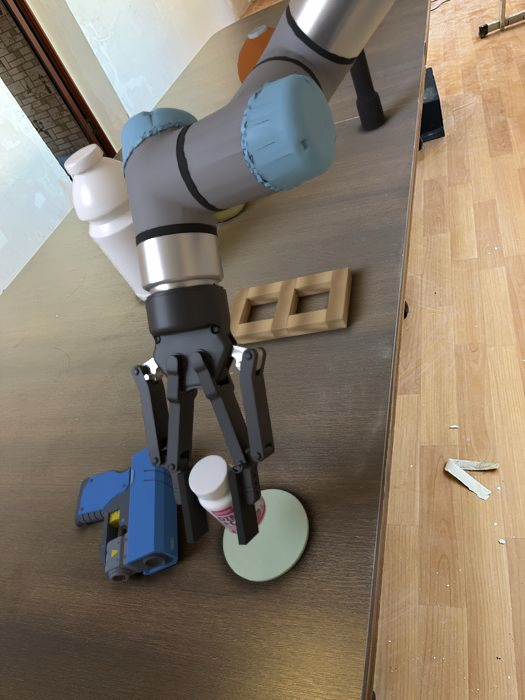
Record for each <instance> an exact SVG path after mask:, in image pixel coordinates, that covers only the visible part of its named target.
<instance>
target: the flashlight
mask: <svg viewBox="0 0 525 700" xmlns="http://www.w3.org/2000/svg"><path fill="white" fill-rule="evenodd" d="M349 73H350V77H351V80H352V85H353V88H354V90H355V94H356V101H355V105H356V106H355V107H356V110H357V114H358V117H359V120H360V121H359V122H360V123H361V128H362V130H364V131H372V130H375V129H378V128H380V127H381V126H382V125H384V124H385V121H386V117H385V113H384V108H383V105H382V102H381V101H382V100H381V98H380V95H379V92H377V91H376V90H375V87H374V83H373V80H372V75H371V71H370V67H369V64H368V60H367V56H366V51H365V47H364V48H363V49H362V51H361V52H360V54H359V55H358V57H357V59H356V61H355V62H354V64H353V66H352V67H351V69H350V70H349Z"/></svg>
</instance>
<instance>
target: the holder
mask: <svg viewBox="0 0 525 700" xmlns="http://www.w3.org/2000/svg"><path fill="white" fill-rule="evenodd" d="M352 282H353V275H352V272H351V270H350V267H349V266H346V267H342V268H337V269H333V270H328V271H323V272H318V273H313V274H309V275H303V276H298V277H294V278H290V279H285V280H280V281H275V282H271V283H266V284H265V283H264V284H262V285H255V286H252V287H246V288H243V289H238V290H236V292H235V295H234V298H233V301H232V304H231V307H230V309H229V312H230V318H231V323H230V330H231V333H232V335H233V336H234V338H235V339H236V341H237V343H238V345H246V344H250V343H258V342H264V341H271V340H276V339H282V338H290V337H295V336H301V335H309V334H314V333H322V332H328V331H334V330H340V329H346V328H347V327H348V319H349V311H350V310H349V309H350V299H351V291H352ZM327 292H329V295H328V301H327V307H326V308H323V309H318V310H313V311H307V312H301V313H297V309H298V303H299V299H300V298H302V297H309V296H312V295H317V294H318V295H319V294H323V293H327ZM272 303H276V307H275V312H274V314H273V315H274V316H273V317H272V318H266V319H261V320H260V319H259V320H255V321H249V322H248V320H249V316H250V313H251V309H252V307H255V306H260V305H265V304H272Z"/></svg>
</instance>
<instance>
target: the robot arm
mask: <svg viewBox="0 0 525 700" xmlns="http://www.w3.org/2000/svg"><path fill="white" fill-rule="evenodd" d="M396 1H397V0H289V2H288V4H287V6H286V8H285V10H284V11H283V12H282V15H281V16H280V19H279V20H278V23H277V25H276V26H275V28H276V29H275V31H274V33H273V35H272V37H271V39H270V41H269V43H268V45H267V47H266V49H265V50H264V52H263V54H262V56H261V57H260V59H259V60H258V62H257V64H256V65H255V67H254V68H253V69H252V71H251V72H250V73H249V75H248V76H247V78H246V79H245V81H244V82H243V83H241V85H240V86H239V88H238V89H237V91H236V92H235V93H234V95H233V97H232V98H231V99H230V101H229V102H228V103H227V104H226V105H224V106H222V107H221V108H219V109H218V110H216V111H214V112H212V113H210V114H208V115H206V116H205V117H202V118H200V119H199V120H198V119H197V118H196V116H194V115H193V114H192V113H190V112H189V111H186V110H184V109H180V108H176V107H156V108H155V109H154V110H151V111H147V110H145V111H140V112H138V113H136V114H135V115H134V114H133V116H131V117H130V118H129V119H128V120H127V121H126V122H125V123H124V125H123V127H122V129H121V133H120V143H121V144H120V145H121V154H122V162H123V167H122V168H123V170H122V171H123V175H124V179H125V181H126V186H127V191H128V197H129V203H130V209H131V215H132V221H133V227H134V233H135V238H136V246H137V255H138V262H139V269H140V276H141V283H142V288H143V289H144V290H145V291H148V292H150V294H151V295H149V296H148V297H147V299H146V300H145V301H144V305H145V312H146V317H147V318H146V319H147V324H148V331H149V333H150V335H151V336H152V338H153V340H154V350H153V353H152V358H150V359H149V360H147V361H146V362H144V363H142V364H137V365H133V366H132V367H131V369H130V373H131V376H132V379H133V381H134V382H135V385H136V386H137V388H138V389H137V390H138V391H139V398H140V404H141V411H142V418H143V424H144V429H145V431H144V432H145V436H146V442H147V448H148V450H149V456H150V462H151V464H152V465H153V466H155V467H157V466H162V467H164V468H167V469H168V471H169V472H170V473H171V478H172V484H173V489H174V497H175V501H176V503H177V506H180V505H181V509H182V516H183V522H184V529H185V534H186V542H187V544H195V543H196V542H197V541H199V540H200V539H201V538H203V537H204V536H205V535H206V534H208V532H210V527H209V520H208V512H207V510H206V509H205V508H204V507H203V506H202V505H201V504H200V502H199V500H198V496H197V495H196V494H195V493H194V492H193V491H192V489H191V488H190V485H189V476H190V473H191V471H192V469H193V467H194V466H195V465H191V464H193V463H195V461H196V458H193V456H192V455H193V453H192V451H193V435H194V434H193V433H194V414H195V399H196V398H197V396H198V392H199V390H202V391H203V394H204V396H205V398H206V399H207V400H209V401H210V403H211V406H212V408H213V412H214V415H215V417H216V420H217V422H218V425H219V428H220V430H221V433H222V436H223V439H224V441H225V444H226V446H227V449H228V451H229V454H230V457H231V459H232V463H233V465H234V467H232V468H231V471H229V472H228V478H229V484H230V491H231V497H232V504H233V510H234V517H235V523H236V530H237V536H238V542H239V545H247V544H248V543H249V542H250V541H251V540H252V539H253V538H254V537H255V536H256V535H257V534H258V533H259V528H258V521H257V515H256V508H255V503H256V502H257V501H258V500H259V499H260V497H261V491H262V490H261V484H260V476H259V469H258V466H259V465H258V464H259V463H262V462H264V461H265V460H266V459H268V458H269V457H271V456H272V455H273V454H275V452H276V451H275V450H276V447H275V440H274V434H273V428H272V421H271V415H270V408H269V402H268V401H269V400H268V396H267V395H268V393H267V388H266V382H265V374H264V371H265V365H266V359H267V351H266V349H265V348H264V347H262V346H256V347H250V346H246V345H243V344H239V345H238V343H237V341H236V339H235V338H234V336H233V335H232V333H231V330H230V323H231V318H230V305H229V299H228V293H227V289H225V288H224V286H222V285H219V283H221V282H222V281H223V280H224V278H225V276H224V275H225V274H224V268H223V262H222V256H221V249H220V243H219V238H218V237H219V236H218V226H217V222H216V219H215V213H218V212H220V211H224V210H227V209H230V208H231V207H234V206H237V205H240V204H244V203H245V204H246V203H249V202H253V201H255V200H259V199H262V198H265V197H268V196H271V195H274V194H277V193H280V192H286V191H291V190H293V189H294V188H297V187H299V186H301V185H302V184H303V183H305V182H308V181H310V180H312V179H315V178H318V177H319V176H321V175H323V174H325V173H326V172H327V171H328V170H329V169H330V168H331V167H332V165H333V163H334V161H335V159H336V155H337V145H336V140H337V130H336V125H335V124H336V123H335V120H334V116H333V114H332V113H333V112H332V110H331V107H330V105H329V103H330V101H331V99H332V97H333V95H334V94H335V92H336V91H337V89H338V88H339V86H340V85H341V84H342V82H343V81H344V79H345V77H346V76H347V74H348V73H350V69H351V67H352V66H353V64H354V62H355V61H356V59H357V57H358V55H359V54H360V52H361V51H362V49H363V48H364V49H365V47H366V45H367V43H368V42H369V41H370V39H371V38H372V36H373V35H374V33H375V32H376V30H377V29H378V27H380V26H379V25H380V24H381V23H382V21H383V20H384V18H385V17H386V15H387V14H388V13H389V11H390V10H391V8H392V6H393V5H394V4H395V2H396ZM234 360H235V367H236V368H237V370H239V385H240V393H241V397H242V399H241V400H242V404H243V411H244V415H243V413H242V410H241V408H240V404H239V402H238V399H237V397H236V393H235V384H234V382H233V379H232V376H231V374H230V369H231V367H232V365H233V362H234ZM164 377H166V378H167V380H166V388H165V384H164V381H163V378H164ZM168 404H169V405H168ZM190 465H191V466H190Z"/></svg>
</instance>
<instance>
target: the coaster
mask: <svg viewBox="0 0 525 700" xmlns="http://www.w3.org/2000/svg"><path fill="white" fill-rule="evenodd" d="M261 495H262V497H263V498H264V501H265V504H266V514H265V517H264V519H263V521H262V523H261V524H260V526H259V527H258V528H259V533H258V534H257V535H256V536H255V537H254V538H253V539H252V540H251V541H250V542H249V543H248V544H247V545H239V542H238V536H237V534H234V533H232V532H230V531H229V530H228V529H227V528H226V527H224V531H223V536H222V547H223V555H224V558H225V560H226V562H227V564H228V566H229V567H230V568H231V569H232V571H233V572H234V573H235V574H236V575H238V576H239V577H240V578H242V579H246V580H247V581H250V582H259V583H261V582H263V583H264V582H269V581H271V580H275V579H277V578H280V577H281V576H283V575H285V574H286V573H287V572H288V571H290V570H291V569H292V568H293V567H294V566H295V565H296V564H297V562H298V561H299V560H300V559H301V557H302V555H303V554H304V552H305V549H306V546H307V545H308V544H307V543H308V540H309V535H310V523H309V518H308V514H307V511H306V509H305V507H304V506H303V504H302V503H301V501H300V500H299V499H298V498H297V497H296V496H295V495H293V494H292V493H290V492H289V491H285V490H283V489H277V488H269V489H264V490H261Z"/></svg>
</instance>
